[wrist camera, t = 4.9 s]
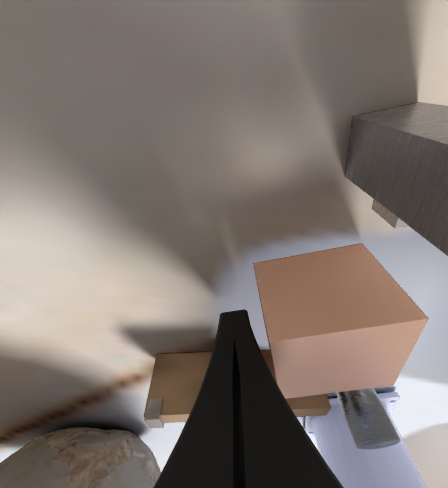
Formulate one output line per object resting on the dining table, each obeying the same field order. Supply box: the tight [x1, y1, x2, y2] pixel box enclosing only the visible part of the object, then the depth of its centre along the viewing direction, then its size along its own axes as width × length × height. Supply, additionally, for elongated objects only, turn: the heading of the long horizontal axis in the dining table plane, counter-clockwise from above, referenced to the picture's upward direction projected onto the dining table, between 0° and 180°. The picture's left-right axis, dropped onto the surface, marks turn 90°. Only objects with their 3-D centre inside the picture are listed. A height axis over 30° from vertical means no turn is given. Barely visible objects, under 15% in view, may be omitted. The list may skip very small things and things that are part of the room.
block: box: [253, 243, 428, 399], centre depth 10 cm, size 5×5×4 cm
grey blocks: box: [336, 102, 448, 450], centre depth 10 cm, size 16×2×5 cm, turn 11°
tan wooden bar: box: [144, 350, 331, 428], centre depth 14 cm, size 10×1×4 cm, turn 91°
